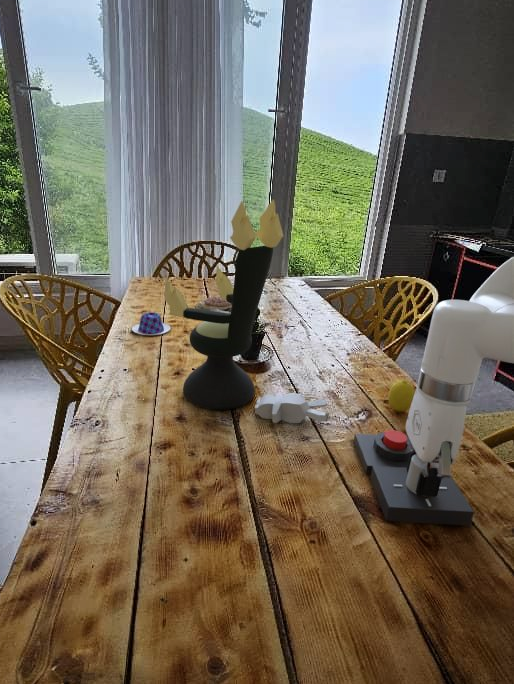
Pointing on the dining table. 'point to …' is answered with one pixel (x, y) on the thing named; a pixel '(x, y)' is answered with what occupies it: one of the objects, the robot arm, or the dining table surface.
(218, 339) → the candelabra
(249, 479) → the dining table surface
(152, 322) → the pudding
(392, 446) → the power button
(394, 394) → the lemon
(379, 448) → the switch block
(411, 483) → the dial
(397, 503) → the knob control plate
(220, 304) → the decorative turtle
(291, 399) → the bunny figurine
